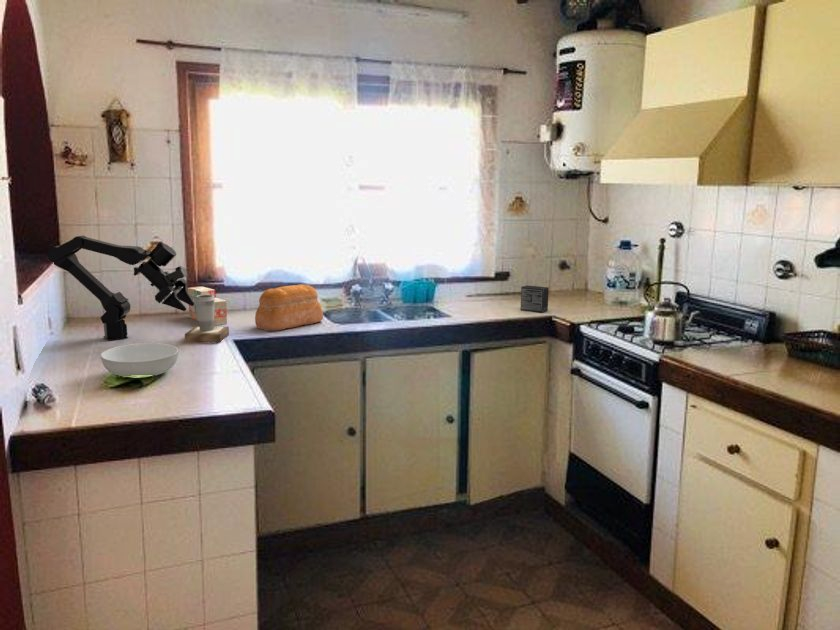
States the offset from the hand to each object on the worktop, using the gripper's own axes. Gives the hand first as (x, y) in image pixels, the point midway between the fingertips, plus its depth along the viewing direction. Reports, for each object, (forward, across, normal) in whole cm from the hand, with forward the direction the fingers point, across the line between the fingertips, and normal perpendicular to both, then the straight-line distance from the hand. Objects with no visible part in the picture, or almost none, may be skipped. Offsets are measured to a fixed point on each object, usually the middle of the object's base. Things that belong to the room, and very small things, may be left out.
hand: (189, 307), depth 243 cm
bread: (+30, +24, -14) cm, 40 cm away
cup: (+10, 0, +2) cm, 10 cm away
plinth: (+12, 0, +4) cm, 12 cm away
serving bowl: (+7, -44, +9) cm, 45 cm away
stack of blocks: (+6, +31, +10) cm, 33 cm away
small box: (+100, +55, -86) cm, 142 cm away
